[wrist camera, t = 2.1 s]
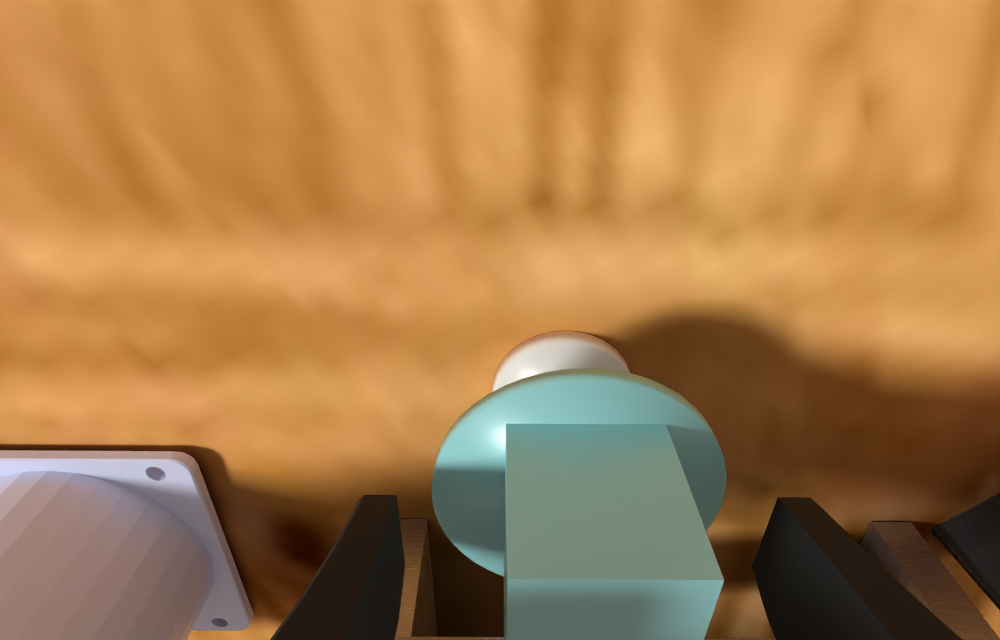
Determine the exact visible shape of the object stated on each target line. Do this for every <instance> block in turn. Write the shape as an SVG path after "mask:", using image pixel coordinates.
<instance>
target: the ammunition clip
mask: <svg viewBox="0 0 1000 640" xmlns="http://www.w3.org/2000/svg"><path fill="white" fill-rule="evenodd" d="M933 534H934V535H935V536H936V537H937V539H938V540H939V541H940V542H941V543H942V544H943V545H944V547H945V548H946V549H947V550H948V551H949V552H950V553H951V555H952V556H953V557H954V558H955V559H956V560H957V561H958V563H959V564H960V565H961V566H962V567H963V568H964V570H965V571H966V572H967V573H968V574H969V575H970V576H971V578H972V579H973V580H974V581H975V582H976V583H977V584H978V586H979V587H980V588H981V589H982V590H983V591H984V593H985V594H986V595H987V596H988V597H989V598H990V599H991V601H992V602H993V603H994V604H995V605H996V606H997V607H998V609H999V610H1000V493H999V494H997V495H995V496H993V497H991V498H989V499H988V500H986V501H984V502H982V503H980V504H978V505H976V506H974V507H972V508H970V509H968V510H966V511H964V512H962V513H961V514H959V515H957V516H955V517H953V518H951V519H949V520H947V521H945V522H943V523H941V524H939V525H937V526H935V527H933Z"/></svg>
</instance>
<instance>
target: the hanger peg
mask: <svg viewBox="0 0 1000 640" xmlns="http://www.w3.org/2000/svg"><path fill="white" fill-rule="evenodd" d="M726 482H727V471H726V465H725V459H724V456H723V453H722V451H721V448H720V446H719V443H718V441H717V439H716V437H715V435H714V433H713V431H712V429H711V427H710V426H709V424H708V422H707V421H706V419H705V418H704V416H703V415H702V414H701V413H700V412H699V411H698V410H697V409H696V407H695V406H694V405H692V404H691V403H690V402H689V401H688V400H686V399H685V398H684V397H683V396H682V395H680V394H678V393H677V392H675V391H673V390H672V389H670V388H668V387H667V386H665V385H662V384H660V383H658V382H656V381H653V380H651V379H649V378H645V377H642V376H639V375H635V374H632V373H630V371H629V368H628V366H627V364H626V361H625V360H624V358H623V357H622V355H621V354H620V353H619V352H618V351H617V350H616V349H615V348H614V347H613V346H611V345H610V344H609V343H607V342H605V341H604V340H602V339H600V338H598V337H595V336H593V335H589V334H586V333H581V332H575V331H556V332H550V333H545V334H541V335H538V336H535V337H533V338H530V339H528V340H526V341H524V342H523V343H521V344H519V345H518V346H517V347H515V348H514V349H513V350H512V351H510V352H509V353H508V354H507V355H506V357H505V358H504V359H503V360H502V362H501V363H500V365H499V367H498V368H497V371H496V373H495V376H494V380H493V389H492V393H490V394H488V395H487V396H485V397H484V398H482V399H481V400H479V401H478V402H476V403H475V404H474V405H472V406H471V407H470V408H469V409H468V410H467V411H466V412H465V413H464V414H462V415H461V416H460V417H459V419H458V420H457V421H456V422H455V423H454V425H453V426H452V427H451V428H450V430H449V431H448V433H447V435H446V436H445V438H444V440H443V441H442V443H441V446H440V448H439V451H438V453H437V456H436V461H435V466H434V472H433V479H432V502H433V508H434V512H435V514H436V517H437V520H438V523H439V524H440V526H441V528H442V530H443V531H444V533H445V535H446V536H447V537H448V538H449V540H450V541H451V542H452V543H453V545H454V546H455V547H457V548H458V549H459V550H460V551H461V552H462V553H463V554H464V555H465V556H467V557H468V558H470V559H471V560H472V561H474V562H475V563H477V564H478V565H480V566H482V567H484V568H486V569H487V570H489V571H492V572H494V573H496V574H499V575H501V576H503V577H504V640H704V638H705V635H706V632H707V629H708V626H709V623H710V621H711V618H712V615H713V612H714V609H715V606H716V603H717V600H718V597H719V594H720V591H721V588H722V585H723V583H724V578H723V576H722V573H721V570H720V568H719V565H718V562H717V560H716V557H715V554H714V552H713V549H712V546H711V544H710V541H709V538H708V535H707V533H706V530H707V529H708V528H709V526H710V525H711V524H712V522H713V520H714V519H715V517H716V515H717V514H718V512H719V509H720V507H721V504H722V502H723V499H724V495H725V490H726Z"/></svg>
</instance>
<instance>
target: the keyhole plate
mask: <svg viewBox="0 0 1000 640" xmlns="http://www.w3.org/2000/svg"><path fill="white" fill-rule="evenodd" d="M400 527H401V535H402V543H403V551H404V559H405V571H404V580H403V589H402V597H401V606H400V614H399V621H398V626H397V631H396V635H395V640H504V637H438V636H437V625H436V613H435V602H434V591H433V580H432V568H431V557H430V546H429V535H428V524H427V519H400ZM860 546H861V547H862V548H863V549H865V550H866V551H867V552H868V553H869V554H870V555H871V556H872V557H873V558H874V559H875V560H876V561H877V562H878V563H879V564H880V565H881V566H882V567H883V568H884V569H885V570H886V571H888V572H889V573H890V574H891V575H892V576H893V577H894V578H895V579H896V580H897V581H898V582H899V583H900V584H901V585H902V586H903V587H905V588H906V589H907V590H908V591H909V592H910V593H911V594H912V595H913V596H914V597H915V598H916V599H918V600H919V601H920V602H921V603H922V604H923V605H924V606H925V607H926V608H927V609H928V610H930V611H931V612H932V613H933V614H934V615H935V616H936V617H937V618H938V619H940V620H941V621H942V622H943V623H944V624H945V625H946V626H947V627H949V628H950V629H951V630H952V631H953V632H954V633H955V634H957V635H958V636H959V637H960V638H961V639H962V640H1000V639H999V637H998V636H997V635H996V633H995V632H994V631H993V629H992V628H991V627H990V626H989V624H988V623H987V622H986V620H985V619H984V618H983V616H982V615H981V614H980V612H979V611H978V610H977V608H976V607H975V606H974V604H973V603H972V602H971V601H970V599H969V598H968V597H967V595H966V594H965V593H964V591H963V590H962V589H961V587H960V586H959V585H958V583H957V582H956V581H955V580H954V578H953V577H952V576H951V574H950V573H949V572H948V570H947V569H946V568H945V566H944V565H943V564H942V562H941V561H940V560H939V558H938V557H937V556H936V555H935V553H934V552H933V551H932V549H931V548H930V547H929V545H928V544H927V543H926V541H925V540H924V539H923V537H922V536H921V535H920V533H919V532H918V531H917V530H916V528H915V527H914V526H913V524H912V523H911V522H871V524H870V526H869V528H868V530H867V532H866V534H865V536H864V538H863V539H862V541H861V543H860ZM704 640H776V639H754V638H704Z"/></svg>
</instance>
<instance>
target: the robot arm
mask: <svg viewBox="0 0 1000 640" xmlns="http://www.w3.org/2000/svg"><path fill="white" fill-rule="evenodd" d="M752 568H753V571H754V575H755V578H756V581H757V585H758V588H759V592H760V595H761V599H762V602H763V605H764V608H765V611H766V614H767V618H768V621H769V624H770V626H771V628H772V631H773V633H774V636H775V638H776V640H962V639H961V638H960V637H959V636H958V635H957V634H955V633H954V632H953V631H952V630H951V629H950V628H949V627H947V626H946V625H945V624H944V623H943V622H942V621H941V620H940V619H938V618H937V617H936V616H935V615H934V614H933V613H932V612H931V611H930V610H928V609H927V608H926V607H925V606H924V605H923V604H922V603H921V602H920V601H919V600H918V599H916V598H915V597H914V596H913V595H912V594H911V593H910V592H909V591H908V590H907V589H906V588H905V587H903V586H902V585H901V584H900V583H899V582H898V581H897V580H896V579H895V578H894V577H893V576H892V575H891V574H890V573H889V572H888V571H886V570H885V569H884V568H883V567H882V566H881V565H880V564H879V563H878V562H877V561H876V560H875V559H874V558H873V557H872V556H871V555H870V554H869V553H868V552H867V551H866V550H865V549H863V548H862V547H861V546H860V545H859V544H858V543H857V542H856V541H855V540H854V539H853V538H852V537H851V536H850V535H849V534H848V533H847V532H846V531H845V530H844V529H843V528H842V527H841V526H840V525H839V524H838V523H837V522H836V521H835V520H833V519H832V518H831V517H830V516H829V515H828V514H827V513H826V512H825V511H824V510H823V509H822V508H821V507H820V506H819V505H818V504H817V503H816V502H815V501H813V500H812V499H811V498H793V497H778V499H777V501H776V504H775V507H774V509H773V512H772V515H771V517H770V520H769V523H768V525H767V528H766V531H765V533H764V536H763V539H762V541H761V544H760V547H759V549H758V552H757V555H756V557H755V560H754V563H753V565H752ZM404 571H405V559H404V551H403V543H402V535H401V527H400V519H399V511H398V503H397V495H364V496H363V497H361V498H360V499H359V500H358V502H357V504H356V506H355V508H354V510H353V512H352V514H351V515H350V517H349V519H348V521H347V523H346V524H345V526H344V528H343V530H342V532H341V533H340V535H339V537H338V538H337V540H336V542H335V543H334V545H333V547H332V548H331V550H330V552H329V553H328V555H327V557H326V558H325V560H324V561H323V563H322V565H321V566H320V568H319V569H318V571H317V572H316V574H315V575H314V577H313V578H312V580H311V581H310V583H309V585H308V586H307V588H306V589H305V591H304V592H303V594H302V595H301V597H300V598H299V600H298V601H297V603H296V604H295V606H294V607H293V609H292V610H291V612H290V613H289V614H288V616H287V617H286V618H285V620H284V621H283V623H282V624H281V625H280V627H279V628H278V630H277V631H276V632H275V634H274V635H273V636H272V638H271V639H270V640H395V635H396V631H397V626H398V621H399V614H400V606H401V597H402V589H403V580H404ZM252 618H253V611H252V608H251V605H250V603H249V600H248V597H247V595H246V592H245V589H244V587H243V584H242V581H241V579H240V576H239V573H238V570H237V568H236V565H235V562H234V560H233V557H232V554H231V552H230V549H229V546H228V543H227V541H226V538H225V535H224V533H223V530H222V527H221V525H220V522H219V519H218V517H217V514H216V511H215V508H214V506H213V503H212V500H211V498H210V495H209V492H208V490H207V487H206V484H205V482H204V479H203V476H202V473H201V471H200V468H199V465H198V464H197V462H196V460H195V459H194V458H193V457H191V456H190V455H188V454H186V453H184V452H177V451H35V450H0V640H187V639H188V636H189V634H190V632H191V630H243V629H246V628H248V627H249V625H250V624H251V621H252Z"/></svg>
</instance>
